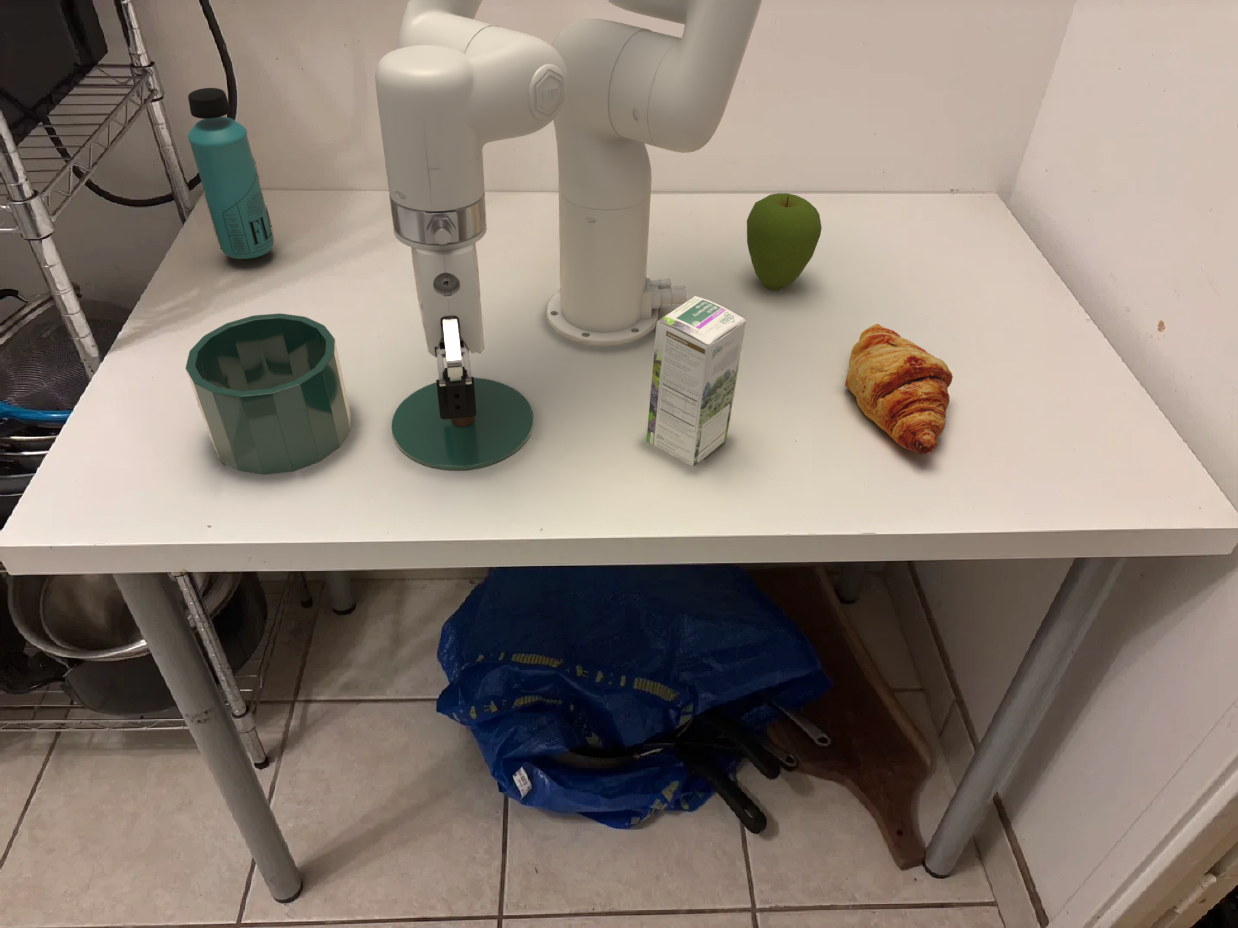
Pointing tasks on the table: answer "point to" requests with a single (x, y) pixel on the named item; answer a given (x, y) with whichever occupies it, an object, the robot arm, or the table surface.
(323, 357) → the canister
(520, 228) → the table surface
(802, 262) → the apple
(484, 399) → the lid
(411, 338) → the table surface
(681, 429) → the syrup box
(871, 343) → the croissant
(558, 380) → the table surface
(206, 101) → the beverage bottle
